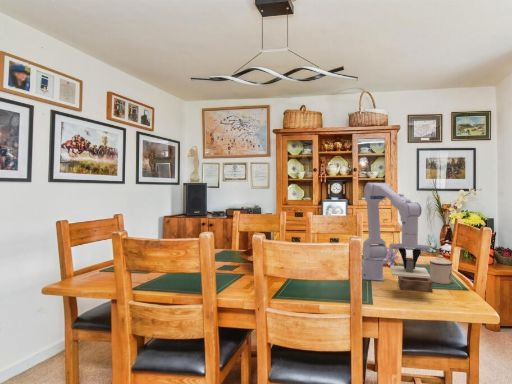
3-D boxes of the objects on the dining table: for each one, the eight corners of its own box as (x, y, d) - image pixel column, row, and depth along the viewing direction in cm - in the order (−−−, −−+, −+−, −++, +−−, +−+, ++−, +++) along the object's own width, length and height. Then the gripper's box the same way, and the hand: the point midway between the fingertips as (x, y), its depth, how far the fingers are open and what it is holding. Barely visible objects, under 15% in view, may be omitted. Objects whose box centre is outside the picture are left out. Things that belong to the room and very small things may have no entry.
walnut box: (400, 289, 147) (400, 279, 147) (398, 282, 159) (398, 273, 159) (432, 292, 144) (432, 282, 144) (428, 284, 155) (428, 275, 155)
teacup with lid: (454, 285, 155) (455, 258, 155) (431, 283, 157) (432, 257, 157) (446, 278, 167) (447, 253, 166) (425, 276, 169) (426, 252, 169)
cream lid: (392, 276, 136) (392, 261, 136) (390, 268, 148) (390, 254, 148) (430, 279, 132) (430, 264, 132) (425, 270, 144) (425, 257, 144)
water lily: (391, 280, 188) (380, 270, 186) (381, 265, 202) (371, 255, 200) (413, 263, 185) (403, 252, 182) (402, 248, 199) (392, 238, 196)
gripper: (390, 233, 138) (389, 269, 138) (431, 235, 134) (431, 272, 134) (389, 231, 145) (389, 265, 145) (428, 233, 140) (428, 268, 140)
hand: (409, 268), depth 140 cm, fingers closed on cream lid, 2 cm apart
